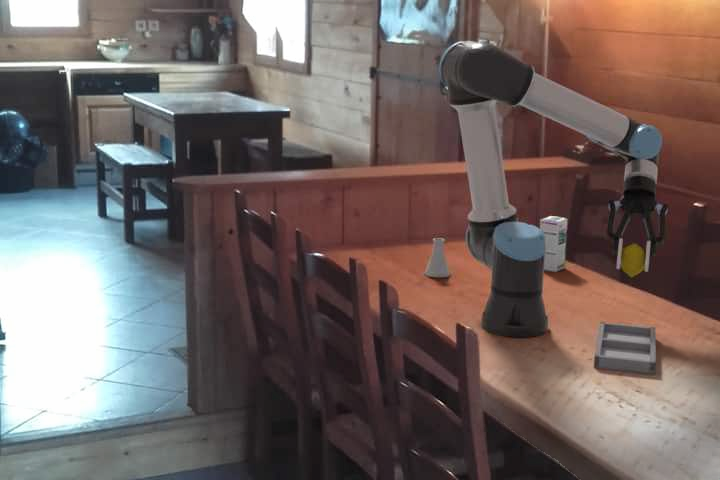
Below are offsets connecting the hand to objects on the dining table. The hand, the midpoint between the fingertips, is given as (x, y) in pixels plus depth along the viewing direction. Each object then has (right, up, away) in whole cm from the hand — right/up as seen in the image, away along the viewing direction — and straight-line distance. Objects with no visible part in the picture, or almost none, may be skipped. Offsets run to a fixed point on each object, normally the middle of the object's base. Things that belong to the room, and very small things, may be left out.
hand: (632, 267), depth 220 cm
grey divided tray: (-4, -18, -11) cm, 21 cm away
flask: (-40, -4, +46) cm, 61 cm away
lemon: (+1, -3, +4) cm, 5 cm away
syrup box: (-8, -2, +54) cm, 55 cm away
